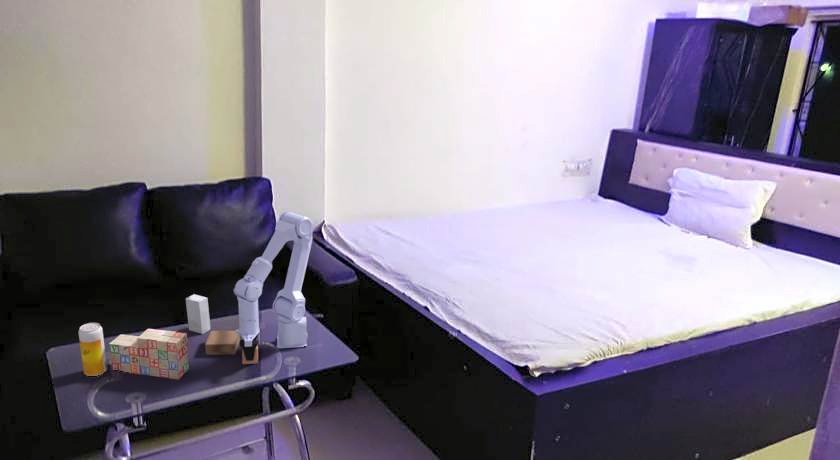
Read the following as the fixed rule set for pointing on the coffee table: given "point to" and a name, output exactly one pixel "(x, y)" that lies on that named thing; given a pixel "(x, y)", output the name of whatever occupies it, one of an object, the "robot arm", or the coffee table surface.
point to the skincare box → (198, 313)
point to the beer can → (92, 349)
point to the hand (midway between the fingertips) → (250, 356)
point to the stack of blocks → (151, 353)
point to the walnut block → (222, 343)
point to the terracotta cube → (254, 357)
